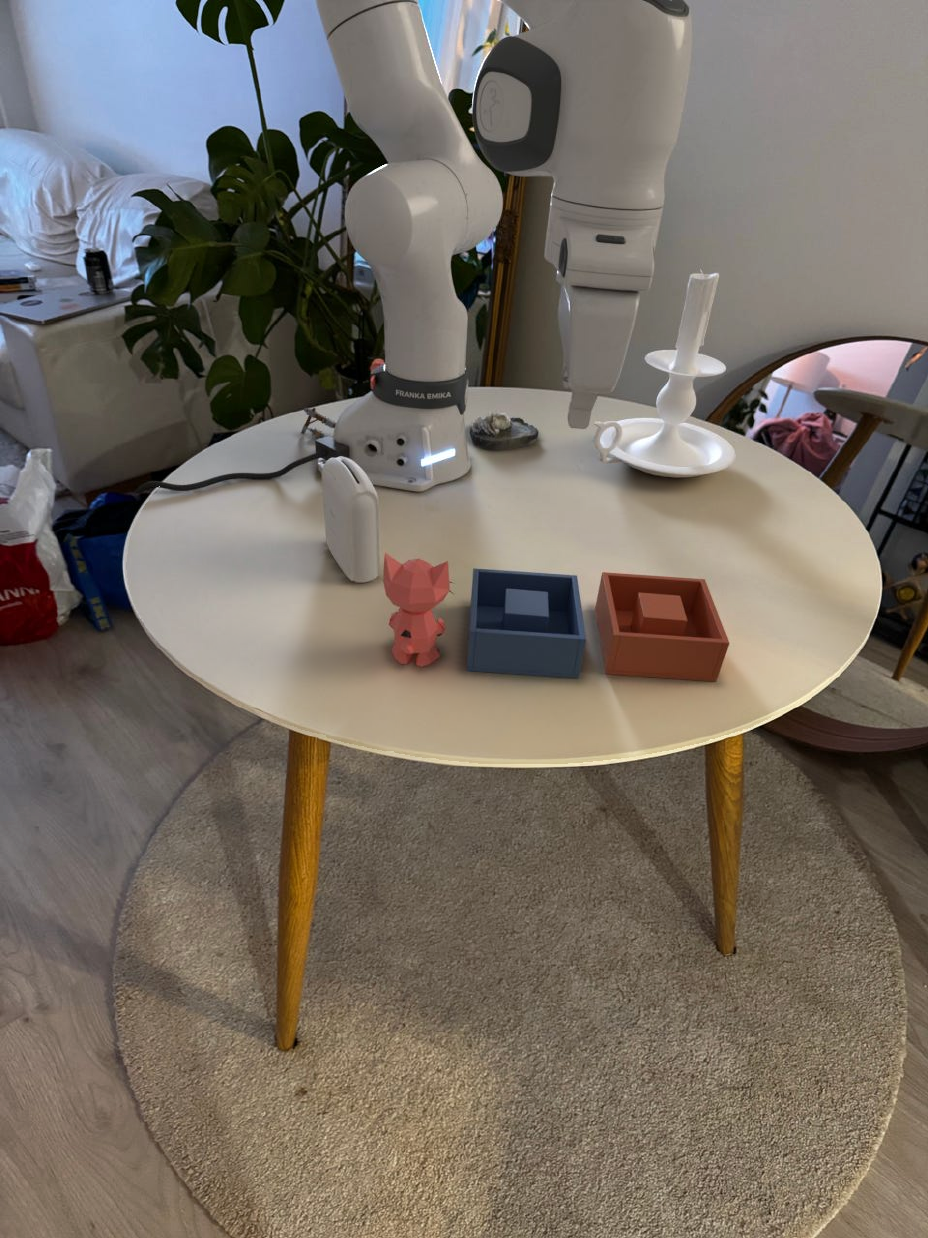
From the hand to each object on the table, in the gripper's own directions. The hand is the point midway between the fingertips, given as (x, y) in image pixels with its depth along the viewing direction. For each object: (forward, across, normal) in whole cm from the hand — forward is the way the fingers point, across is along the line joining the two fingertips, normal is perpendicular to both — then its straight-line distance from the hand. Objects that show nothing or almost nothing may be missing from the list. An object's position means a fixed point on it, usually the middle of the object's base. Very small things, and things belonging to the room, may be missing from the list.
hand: (573, 404), depth 69 cm
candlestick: (+24, -41, +19) cm, 51 cm away
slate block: (+23, +5, -2) cm, 24 cm away
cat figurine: (+24, +10, -13) cm, 29 cm away
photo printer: (+24, -8, -22) cm, 34 cm away
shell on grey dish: (+25, -48, -4) cm, 54 cm away
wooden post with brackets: (+25, -42, -32) cm, 59 cm away
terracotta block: (+23, +4, +12) cm, 26 cm away
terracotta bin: (+24, +4, +12) cm, 27 cm away
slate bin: (+24, +5, -2) cm, 24 cm away
